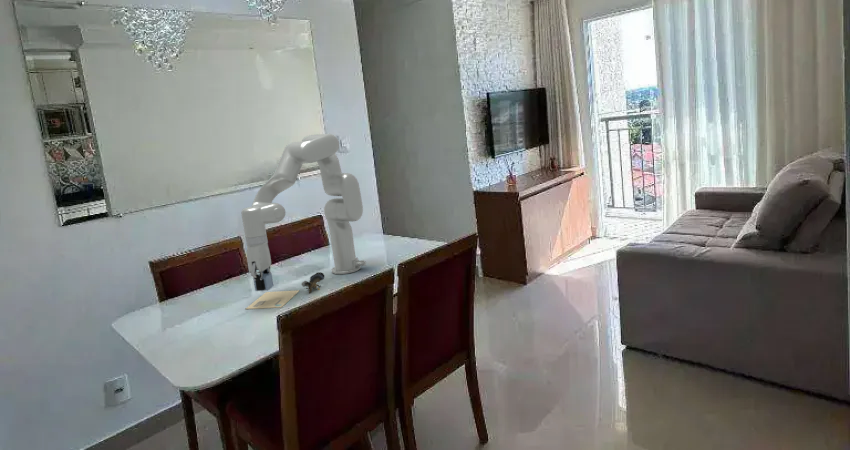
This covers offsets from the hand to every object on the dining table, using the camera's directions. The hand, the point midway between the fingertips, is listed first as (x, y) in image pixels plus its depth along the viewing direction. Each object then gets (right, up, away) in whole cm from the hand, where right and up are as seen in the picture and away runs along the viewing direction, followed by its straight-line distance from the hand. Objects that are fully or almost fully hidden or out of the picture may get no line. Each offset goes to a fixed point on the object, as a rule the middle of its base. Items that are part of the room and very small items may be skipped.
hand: (264, 287), depth 204 cm
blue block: (0, 0, 0) cm, 1 cm away
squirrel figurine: (+17, -3, +11) cm, 20 cm away
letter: (+2, -5, +4) cm, 7 cm away
